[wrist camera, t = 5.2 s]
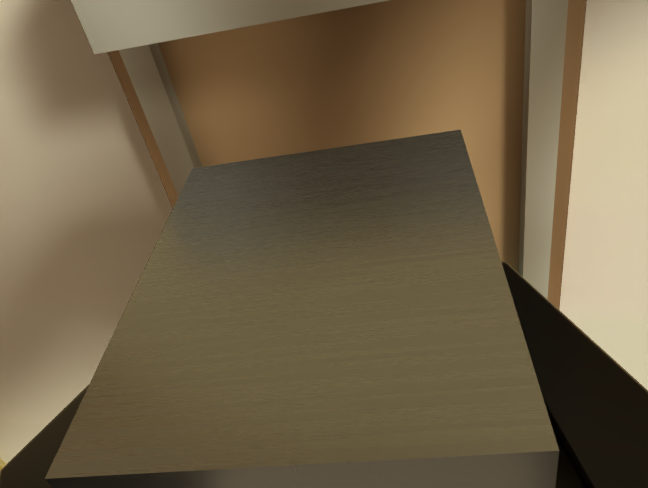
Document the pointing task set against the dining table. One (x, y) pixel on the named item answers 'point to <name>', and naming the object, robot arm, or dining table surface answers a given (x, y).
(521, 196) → the vise base
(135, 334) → the block
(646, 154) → the dining table surface
